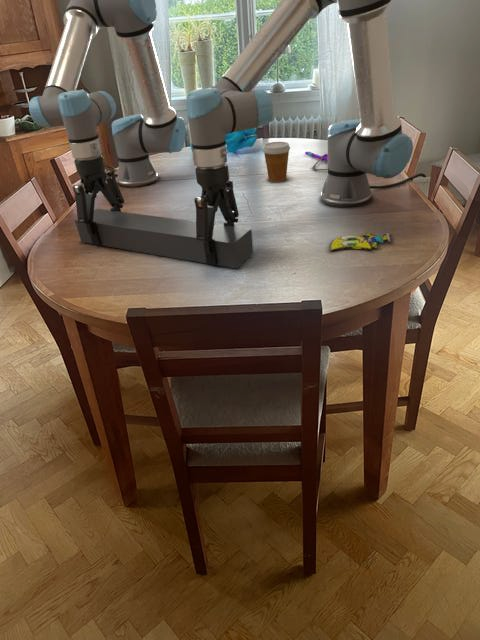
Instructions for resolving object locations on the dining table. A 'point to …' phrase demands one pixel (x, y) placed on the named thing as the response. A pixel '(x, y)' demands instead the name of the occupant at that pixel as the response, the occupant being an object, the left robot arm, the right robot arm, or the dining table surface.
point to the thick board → (168, 237)
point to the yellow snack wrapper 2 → (358, 242)
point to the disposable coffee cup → (276, 160)
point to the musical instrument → (324, 158)
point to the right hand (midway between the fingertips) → (222, 255)
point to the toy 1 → (239, 140)
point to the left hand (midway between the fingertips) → (108, 236)
